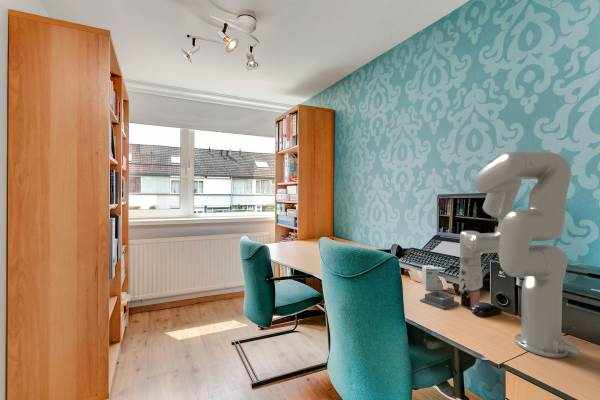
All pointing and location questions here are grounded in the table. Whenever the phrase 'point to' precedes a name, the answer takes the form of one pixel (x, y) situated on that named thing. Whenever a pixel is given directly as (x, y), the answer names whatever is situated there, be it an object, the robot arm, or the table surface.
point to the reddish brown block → (473, 298)
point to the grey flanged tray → (439, 300)
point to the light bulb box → (431, 277)
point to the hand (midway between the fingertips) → (469, 304)
